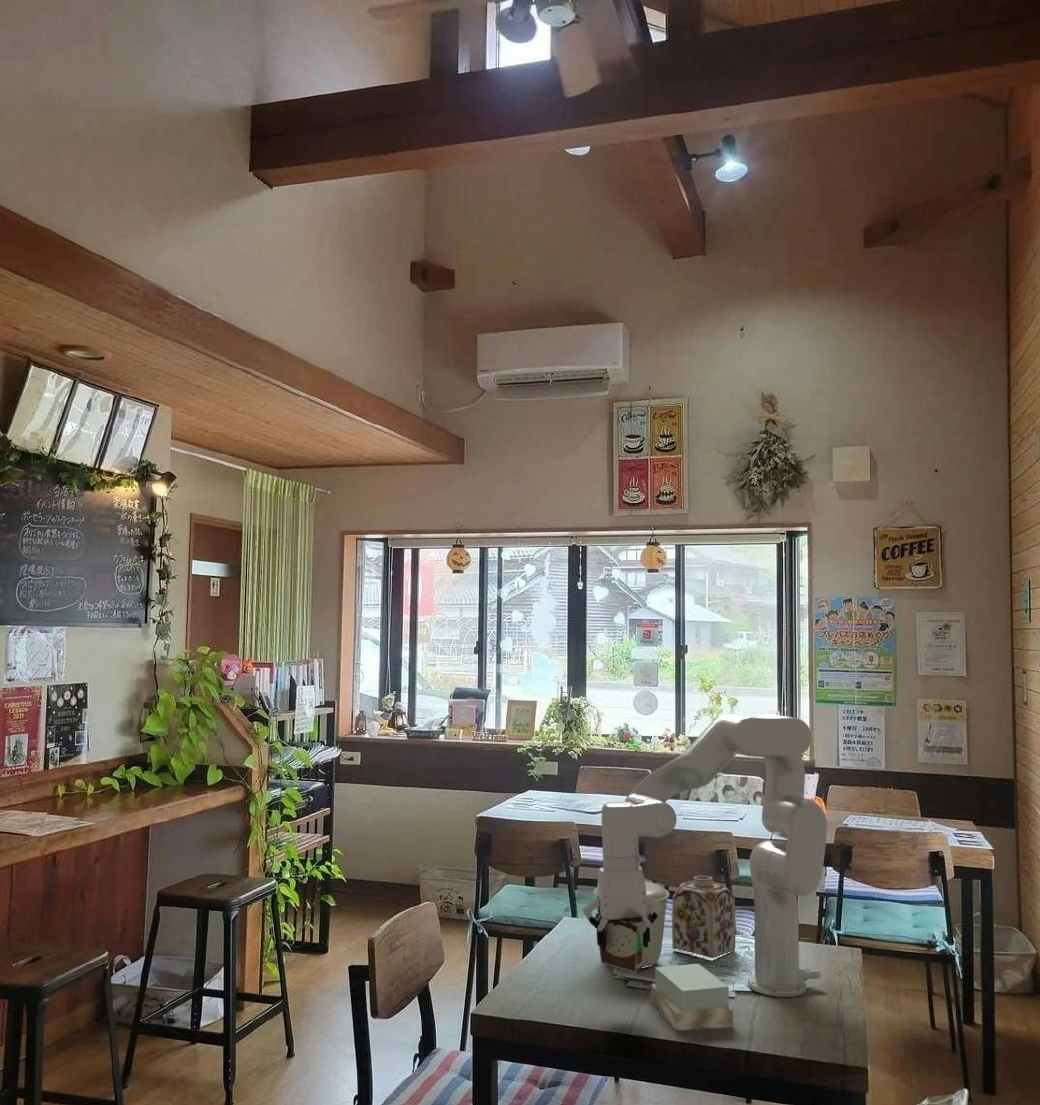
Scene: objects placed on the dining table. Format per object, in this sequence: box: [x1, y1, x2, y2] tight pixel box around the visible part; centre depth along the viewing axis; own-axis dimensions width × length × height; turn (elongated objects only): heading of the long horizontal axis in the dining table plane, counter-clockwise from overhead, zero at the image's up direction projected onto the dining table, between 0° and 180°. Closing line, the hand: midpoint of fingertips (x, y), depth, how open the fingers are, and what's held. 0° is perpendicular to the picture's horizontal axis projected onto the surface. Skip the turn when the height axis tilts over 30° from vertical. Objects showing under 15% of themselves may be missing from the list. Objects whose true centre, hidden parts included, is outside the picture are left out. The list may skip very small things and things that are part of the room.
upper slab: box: [654, 963, 730, 1012], centre depth 203 cm, size 10×14×4 cm
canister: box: [593, 880, 671, 967], centre depth 235 cm, size 18×18×21 cm
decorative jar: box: [671, 875, 736, 958], centre depth 243 cm, size 12×12×18 cm
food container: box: [594, 912, 646, 974], centre depth 205 cm, size 12×6×10 cm, turn 45°
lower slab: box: [650, 983, 734, 1031], centre depth 203 cm, size 12×16×4 cm
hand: (623, 946), depth 205 cm, fingers closed on food container, 8 cm apart
